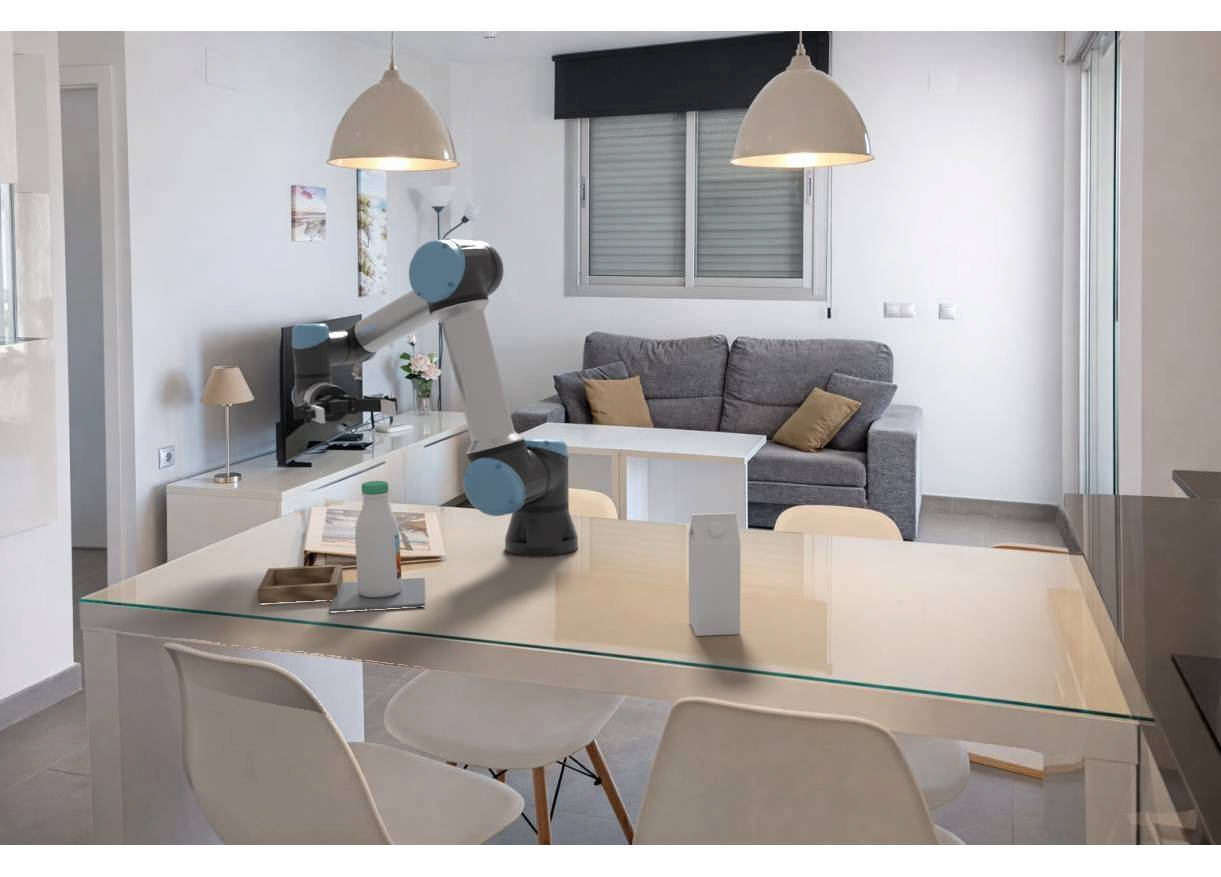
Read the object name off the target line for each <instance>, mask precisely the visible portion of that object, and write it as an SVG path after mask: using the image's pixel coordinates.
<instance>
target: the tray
mask: <svg viewBox="0 0 1221 877" xmlns="http://www.w3.org/2000/svg"><path fill="white" fill-rule="evenodd" d="M343 573H344V572H343V564H342V563H341V564H326V565H325V564H324V565H308V566H293V567H292V566H291V567H287V566H286V567H274V568H273V567H271V568H267V571H266V573H265V574H264V576H263V578H262V580H261V583H260V585H259V586H258V588H257V592H258V593H257V595H258V605H259V604H260V603H261V604H262V603H277V602H278V603H279V602H296V601H315V600H332V599H333V597H336V596H337V595H338V592H339V588H340V584H341V583H343V582H344V577H343ZM289 584H292V585H289Z"/></svg>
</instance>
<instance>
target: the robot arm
mask: <svg viewBox="0 0 1221 877" xmlns="http://www.w3.org/2000/svg"><path fill="white" fill-rule="evenodd" d="M503 277H504V264H503V260H502V258H501V256H500V253H499V252H498V251H497V250H496V248H494V247H493V246H492V245H491V244H489V243H487V242H485V241H482V240H478V239H477V240H475V239H452V238H441V239H436V240H435V239H433V240H430V241H428V242H425V243H424V244H422V245H421V246H420V247H418V248H417V250H416V251H415V253H414V255H413V257H412V259H411V260H410V263H409V268H408V279H409V284H410V287H411V288H412V290H410V291H409V292H406V293H405V294H403V295H401V296H399V297H397V299H394V300H393V301H391V302H390V303H388V304H386V305H383V306H382V307H381V308H379V309H378V310H376V311H374V312H372V313H371V314H369V315H367V316H365V317H364V318H361V319H360V320H358V321H357V322H355V323H353V324H352V325H350V326H349V327H347V328H344V329H338V330H330V329H329V326H328V324H326V323H322V322H321V323H318V322H317V323H316V322H315V323H314V322H313V323H298V324H295V325H294V326H293V327H292V328H291V329H292V330H291V331H292V332H291V334H292V335H291V336H292V337H291V340H292V342H291V347H292V356H293V367H294V386H293V388H292V391H291V401H292V403H293V405H294V406H293V419H294V420H295V421H299V420H302V419H303V418H304V424H312V421H314V422H316V423H318V424H326V423H331V424H332V423H336V422H339V421H341V420H343V419H344V418H346V417H347V415H357V414H360V413H363V412H364V413H381V415H385V416H389V417H391V418H392V417H397V414H396V413H397V412H398V399H397V398H396V397H390V395H383V397H380V396H370V395H369V396H368V395H362V396H361V397H360V396H358V395H349V394H348V392H347V391H346V390H345V389H343V388H342V387H341V386H338V385H335V384H333V380H332V376H333V375H332V374H333V373H332V367H337V366H344V365H353V364H357V365H359V364H362V363H365V362H368V361H371V360H372V359H373V358H374V357H375V356H376V354H377V353H378V351H380V350H382V349H383V348H385V347H387V346H389V345H391V344H392V343H394V342H396V341H398V340H399V339H402V338H403V337H405V336H407V335H409V334H410V333H412V332H414V331H416V330H417V329H419V328H421V327H424V326H425V325H427V324H429V323H431V322H432V321H434V320H436V321H438V322H439V323H440V325H441V330H442V333H443V337H444V341H445V345H446V349H447V353H448V356H449V360H450V365H451V368H452V371H453V376H454V380H455V383H456V387H457V391H458V394H459V398H460V402H461V406H462V409H463V413H464V414H463V415H464V417H465V421H466V425H467V429H468V433H469V436H470V440H471V441H470V445H469V447H468V449H467V450H466V456H467V460H468V464H469V465H468V466H467V468H466V469H465V474H463V477H462V478H463V479H462V484H463V490H464V494H465V496H466V498H467V499H468V501H469V502H470V503H471V505H472V506H473V508H475V509H476V510H479V511H480V512H481V513H483V514H485V515H487V516H491V517H500V516H504V515H509V514H511V516H510V519H509V520H510V521H509V523H508V527H507V531H506V534H505V538H504V549H505V551H506V552H508V553H509V554H513V555H516V556H521V557H522V556H523V557H531V558H532V557H533V558H534V557H537V558H539V557H541V558H542V557H552V556H560V555H561V556H562V555H566V554H569V553H572V552H575V551H576V550H577V549H578V547H579V541H578V540H579V538H578V533H577V530H576V527H575V524H574V522H573V519H572V516H571V513H570V509H569V506H570V505H569V502H570V501H569V458H570V457H569V455H568V445H567V443H566V442H565V441H563V440H561V439H554V438H538V437H537V438H534V437H524V436H523V435H521V434H519V433H517V431H516V430H515V428H514V423H513V420H512V416H511V412H510V408H509V404H508V400H507V397H506V393H505V389H504V386H503V381H502V378H501V374H500V370H499V366H498V362H497V358H496V354H495V352H494V347H493V343H492V339H491V335H490V332H489V327H488V325H487V320H486V314H485V309H486V308H487V306H488V305H489V303H490V300H489V296H491V295H492V294H493V293H494V292H496V291H497V290H498V289H499V287H500V285H501V283H502V281H503Z"/></svg>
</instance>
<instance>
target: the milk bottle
mask: <svg viewBox="0 0 1221 877" xmlns="http://www.w3.org/2000/svg"><path fill="white" fill-rule="evenodd" d="M361 492H362V493H361V496H362V497H363V502H362V506H361V510H360V513H359V515H358V518H357V521H356V523H355V524H356V525H355V531H354V532H355V535H354V536H355V538H354V539H355V558H356V559H355V560H356V578H357V579H356V580H357V581H356V582H358V592H359V594H360V595H361V596H364V597H371V598H380V597H388V596H392V595H395V594H398V593H399V592H400V591H401V589H402V579H403V578H402V560H401V559H402V558H401V544H400V542H401V541H400V539H401V538H400V531H399V530H400V529H399V525H398V520H397V518H396V516H395V514H394V512H393V510H392V508H391V506H390V503H389V500H388V496H389V483H388V482H387V481H383V480H371V481H365V482H362V484H361Z"/></svg>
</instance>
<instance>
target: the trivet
mask: <svg viewBox="0 0 1221 877" xmlns="http://www.w3.org/2000/svg"><path fill="white" fill-rule="evenodd" d="M425 578H426V577H416V578H415V577H413V578H412V577H411V578H402V589H401V591H400V592H399V593H398V594H395V595H392V596H388V597H380V598H371V597H364V596H361V595H360V594H359V592H358V582H357V581H348V582H347V581H346V582H345V581H342V583H341V584H340V588H339V592H338V595H337V596H336V597H333V599H332V601H331V603H330V608H329V612H330V611H347V610H365V609H367V610H370V609H372V610H373V609H387V608H402V607H421V606H425V607H426V579H425Z"/></svg>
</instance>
